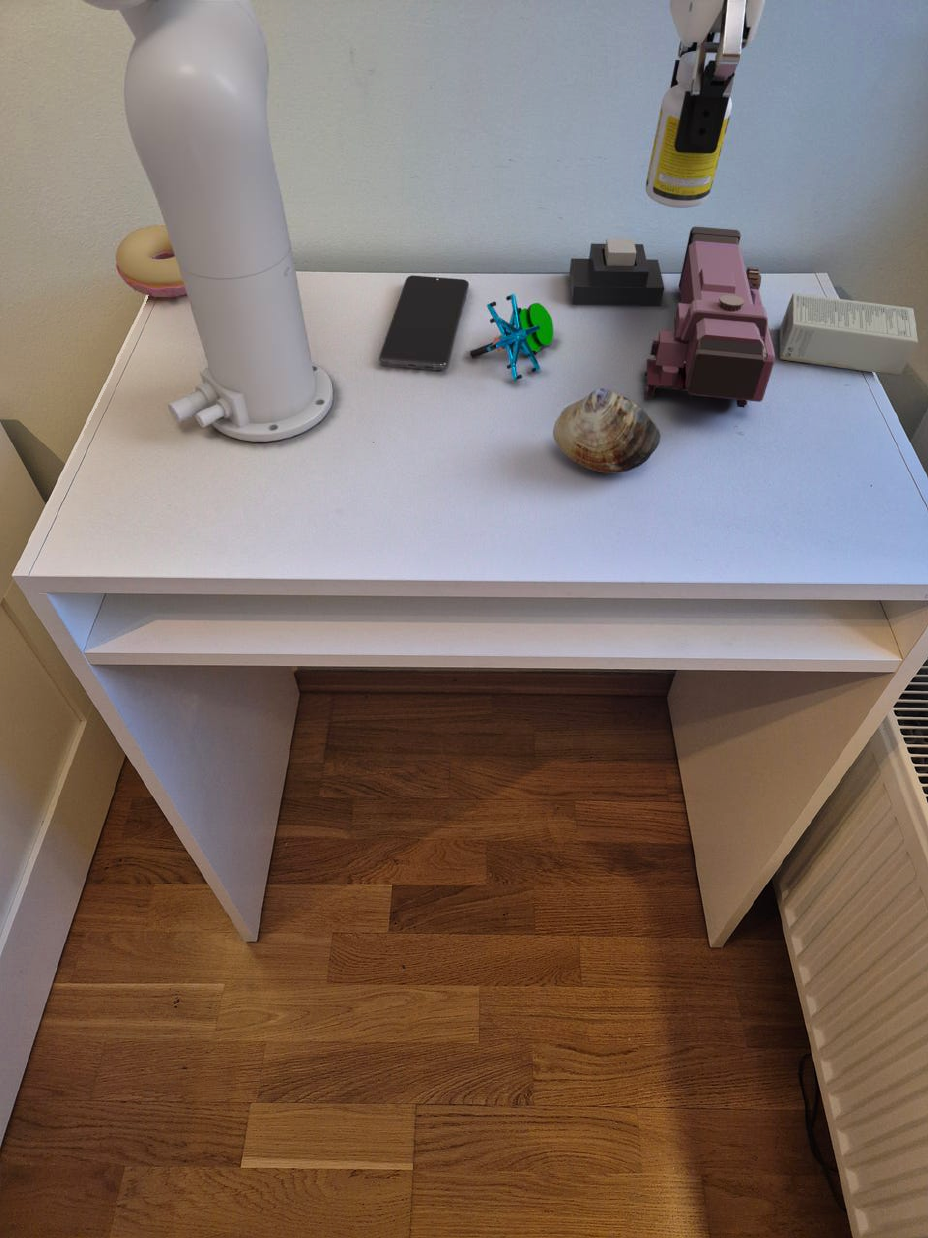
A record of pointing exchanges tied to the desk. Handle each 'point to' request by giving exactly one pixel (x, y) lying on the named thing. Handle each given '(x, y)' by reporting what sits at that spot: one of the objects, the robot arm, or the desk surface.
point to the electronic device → (715, 325)
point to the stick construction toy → (520, 334)
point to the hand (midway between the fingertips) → (689, 131)
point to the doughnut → (150, 263)
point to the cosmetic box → (848, 334)
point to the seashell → (606, 433)
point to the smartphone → (425, 323)
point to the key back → (620, 252)
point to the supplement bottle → (674, 172)
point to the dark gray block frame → (615, 280)
